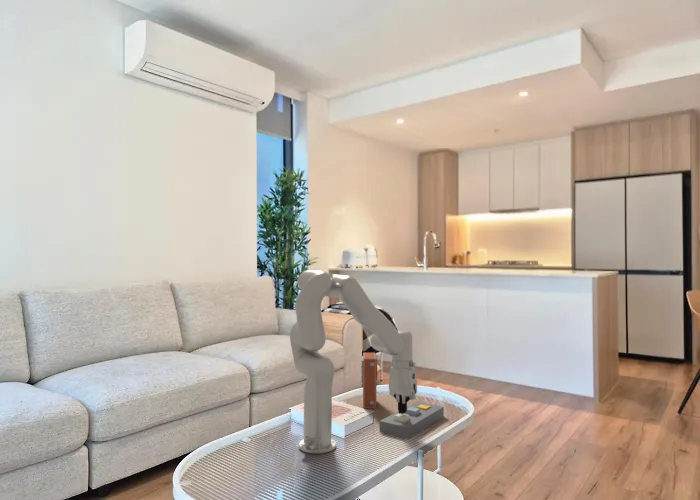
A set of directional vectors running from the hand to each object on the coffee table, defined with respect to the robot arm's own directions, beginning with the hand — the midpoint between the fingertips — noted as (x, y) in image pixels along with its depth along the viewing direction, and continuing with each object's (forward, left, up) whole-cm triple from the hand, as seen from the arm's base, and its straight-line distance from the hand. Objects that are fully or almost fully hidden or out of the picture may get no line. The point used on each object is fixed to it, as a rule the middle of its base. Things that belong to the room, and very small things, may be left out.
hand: (402, 412), depth 181 cm
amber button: (+17, -5, -5) cm, 18 cm away
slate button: (+8, -3, -4) cm, 9 cm away
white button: (0, 0, -4) cm, 4 cm away
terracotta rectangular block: (+27, +20, -7) cm, 35 cm away
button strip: (+8, -3, -7) cm, 11 cm away
